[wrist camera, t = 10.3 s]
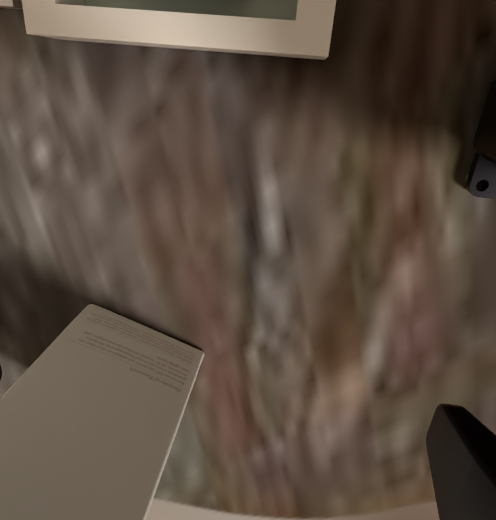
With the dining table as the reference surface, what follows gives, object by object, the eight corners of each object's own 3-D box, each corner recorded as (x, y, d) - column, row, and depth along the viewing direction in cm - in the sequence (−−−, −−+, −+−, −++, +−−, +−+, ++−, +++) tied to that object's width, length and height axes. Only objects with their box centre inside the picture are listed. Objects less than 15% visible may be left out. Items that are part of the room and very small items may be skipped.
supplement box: (88, 297, 22) (-136, 530, 11) (208, 350, 23) (117, 625, 11) (61, 386, 25) (-135, 638, 14) (167, 430, 26) (63, 708, 14)
